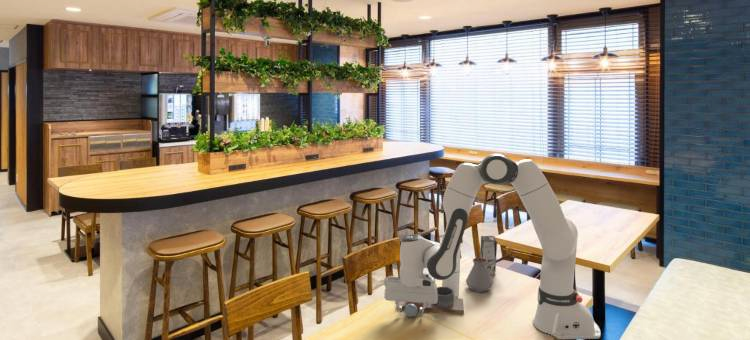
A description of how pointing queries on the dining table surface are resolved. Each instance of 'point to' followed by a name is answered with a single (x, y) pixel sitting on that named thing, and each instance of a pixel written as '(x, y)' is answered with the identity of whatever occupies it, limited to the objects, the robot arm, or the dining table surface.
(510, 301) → the dining table surface
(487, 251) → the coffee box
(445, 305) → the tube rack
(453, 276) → the cylindrical container
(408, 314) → the slate ball
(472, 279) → the coffee pot
